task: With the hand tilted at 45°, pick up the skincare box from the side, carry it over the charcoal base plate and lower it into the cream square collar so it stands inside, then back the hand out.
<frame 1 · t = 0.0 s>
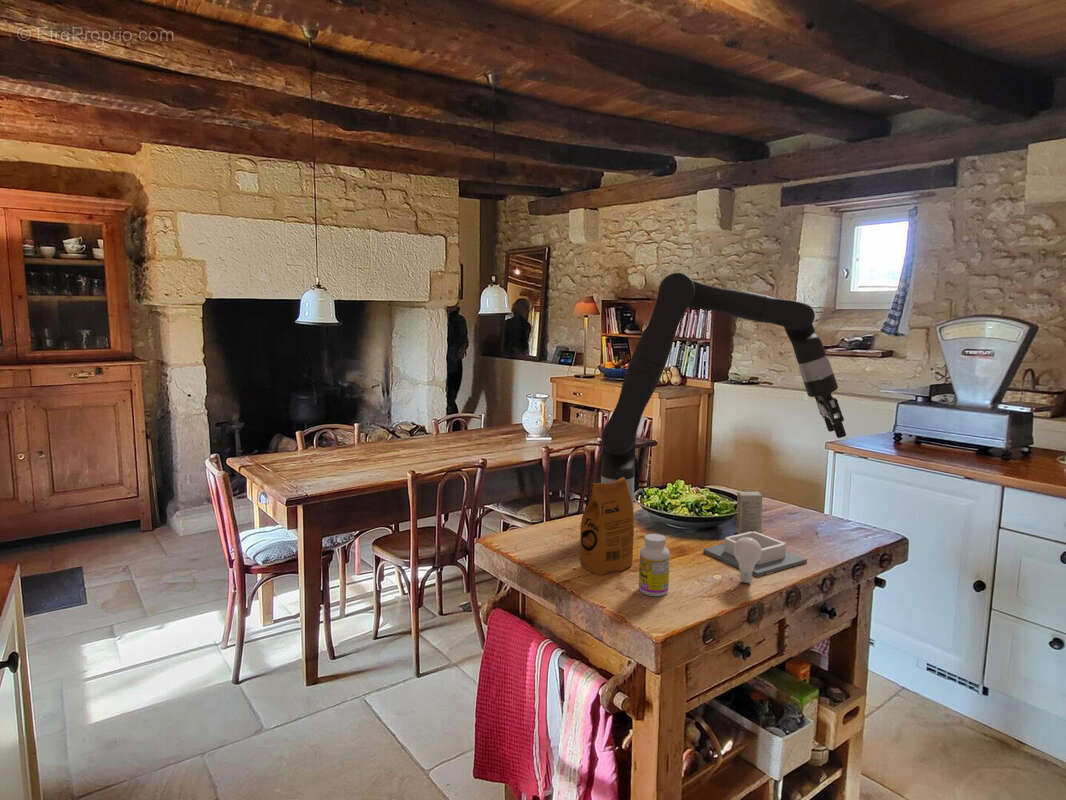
hand: (837, 433, 172), 31 cm above the worktop, tool tilted 20°, fingers open, 8 cm apart
lightbulb: (745, 583, 154), on the worktop
holder: (754, 557, 170), on the worktop
supplement bottle: (653, 592, 149), on the worktop
skincare box: (747, 535, 187), on the worktop
coffee package: (605, 567, 164), on the worktop
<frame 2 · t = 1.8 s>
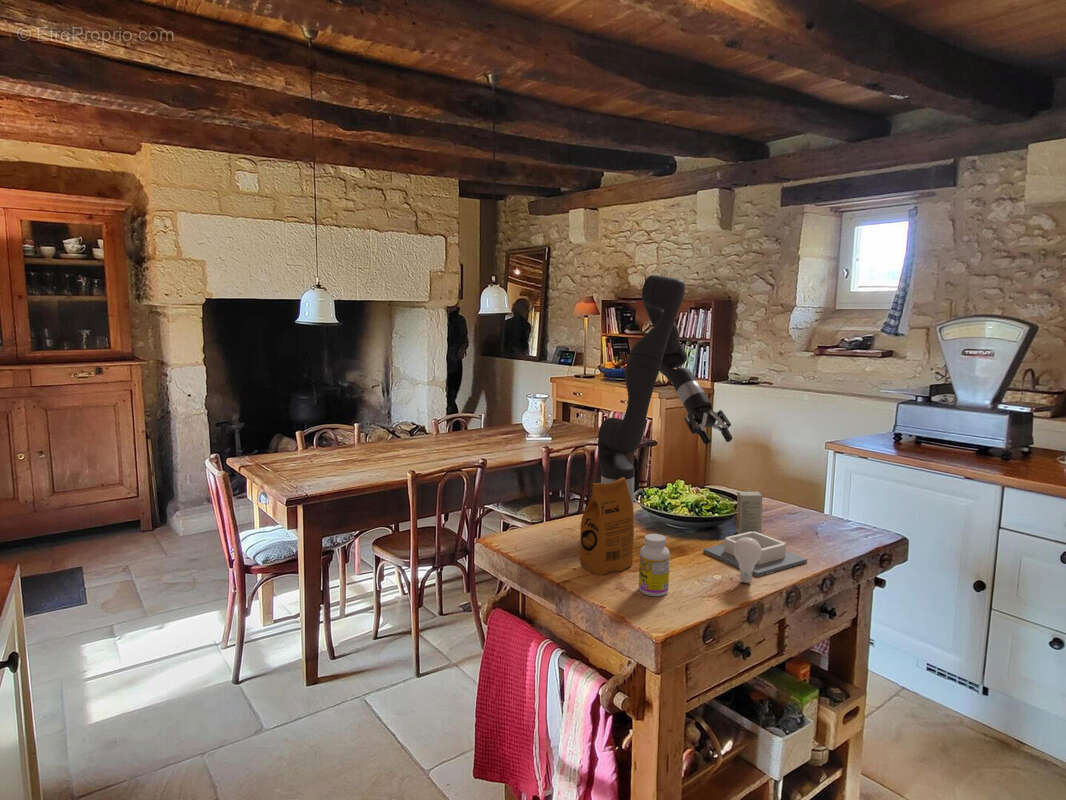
hand: (719, 442, 194), 25 cm above the worktop, tool tilted 45°, fingers open, 8 cm apart
nothing on the worktop moved.
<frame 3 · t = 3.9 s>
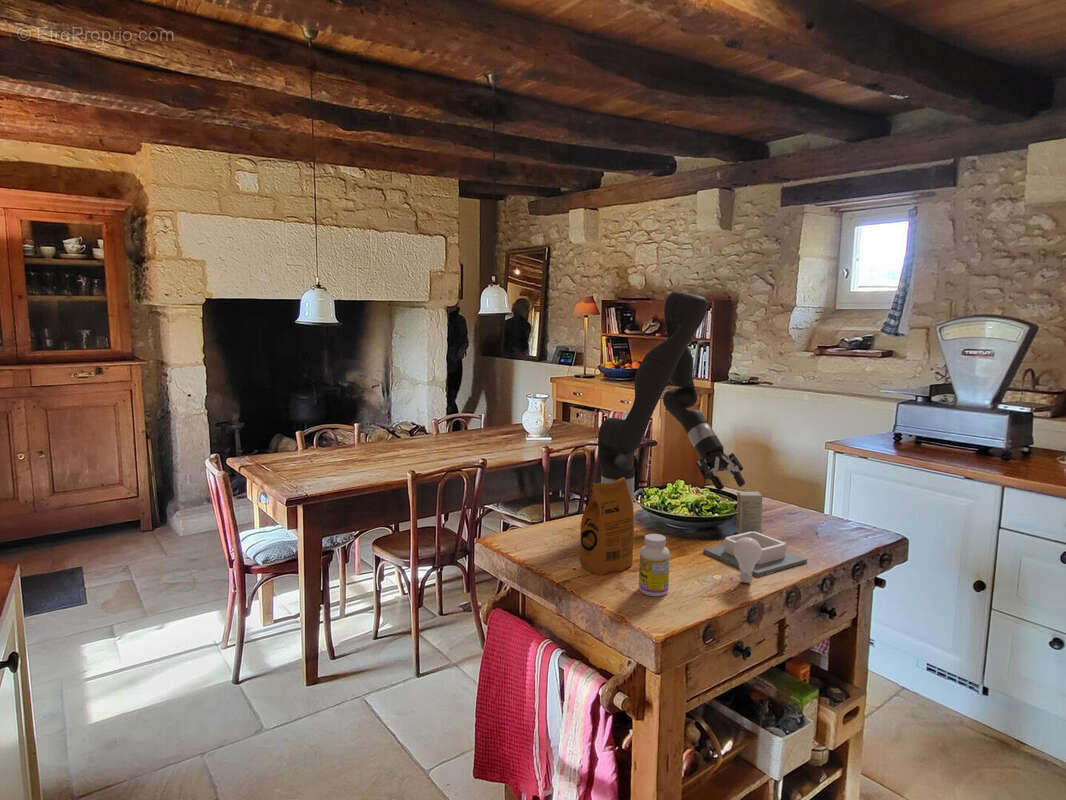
hand: (732, 487, 191), 12 cm above the worktop, tool tilted 45°, fingers open, 8 cm apart
nothing on the worktop moved.
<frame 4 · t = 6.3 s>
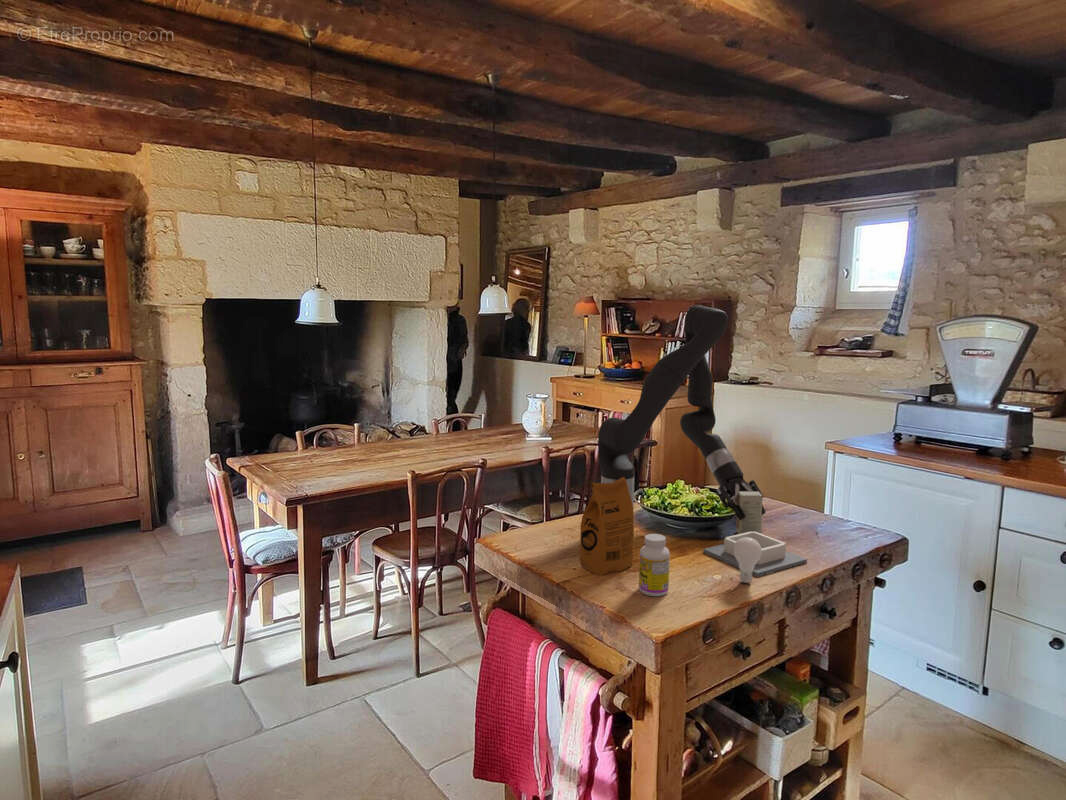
hand: (753, 516, 185), 6 cm above the worktop, tool tilted 45°, fingers closed on skincare box, 7 cm apart
skincare box: (747, 535, 187), on the worktop, touching gripper
everything else where it was.
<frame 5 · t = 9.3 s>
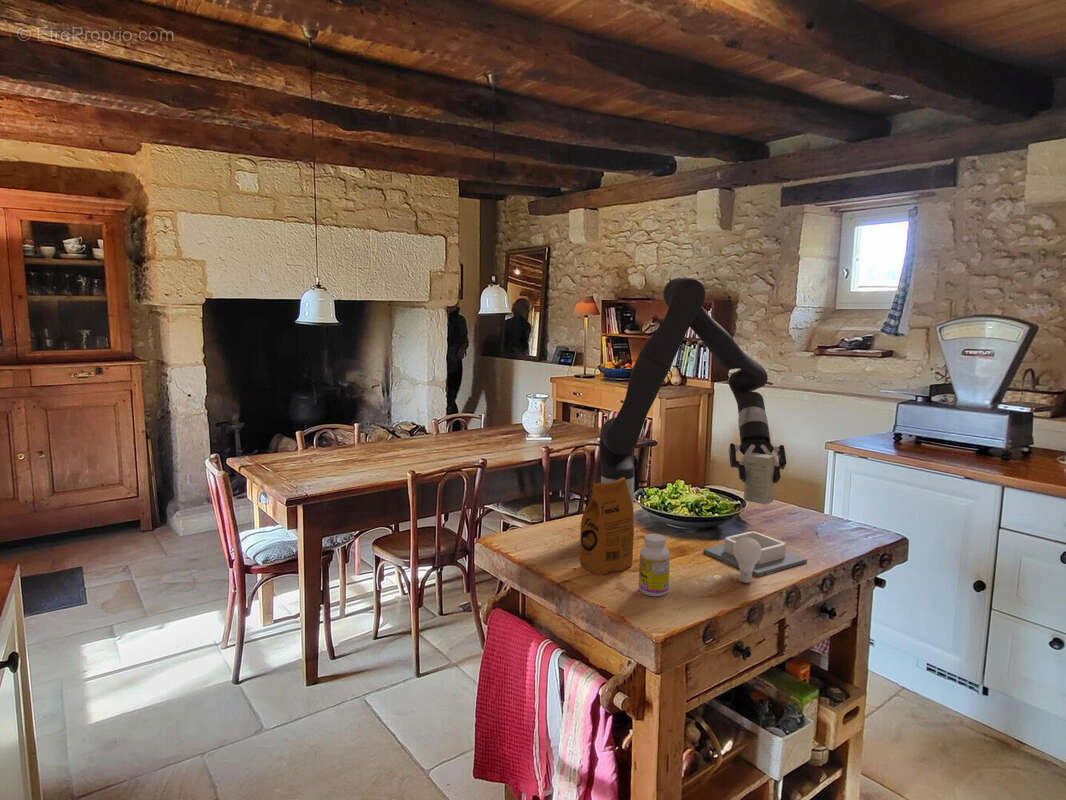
hand: (760, 481, 167), 20 cm above the worktop, tool tilted 45°, fingers closed on skincare box, 7 cm apart
skincare box: (757, 502, 169), point 14 cm above the worktop, touching gripper
everything else where it was.
when the fingers open (8 cm above the worktop, at t = 12.5 s): skincare box drops 1 cm, resting on holder.
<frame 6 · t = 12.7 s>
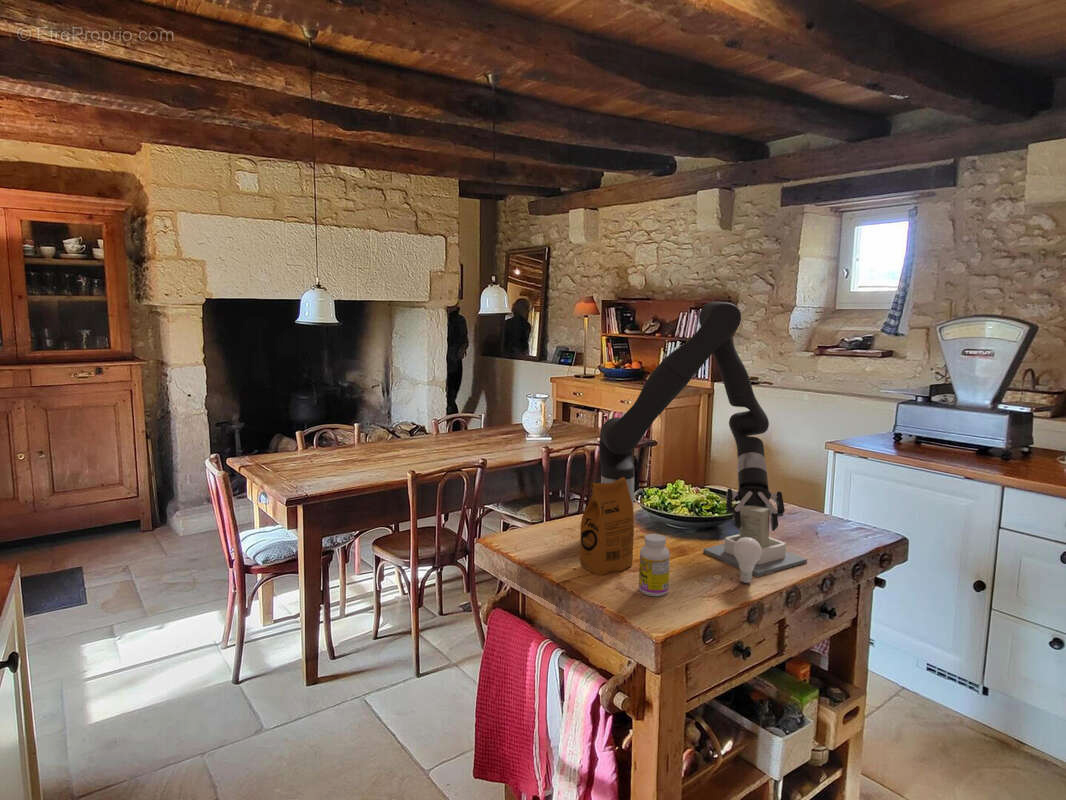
hand: (756, 528, 167), 8 cm above the worktop, tool tilted 45°, fingers open, 8 cm apart
skincare box: (753, 554, 170), point 1 cm above the worktop, touching gripper, holder
everything else where it was.
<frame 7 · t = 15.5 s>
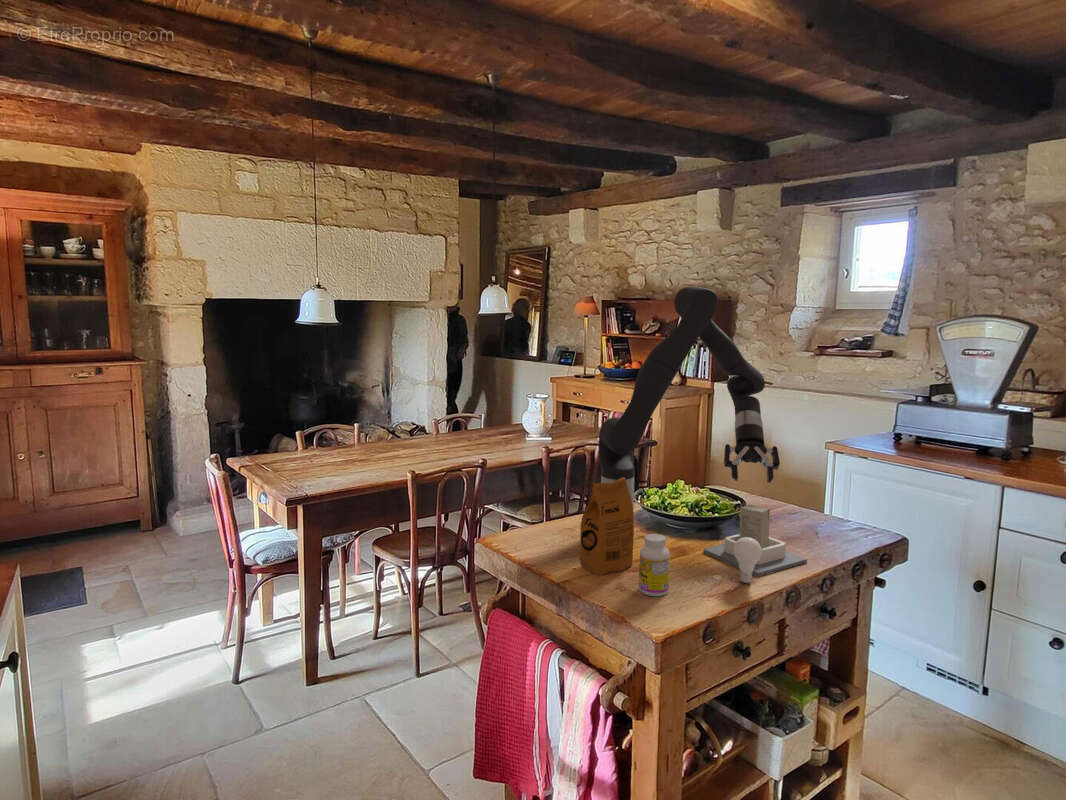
hand: (752, 480, 175), 18 cm above the worktop, tool tilted 45°, fingers open, 8 cm apart
skincare box: (753, 554, 170), point 1 cm above the worktop, touching holder
everything else where it was.
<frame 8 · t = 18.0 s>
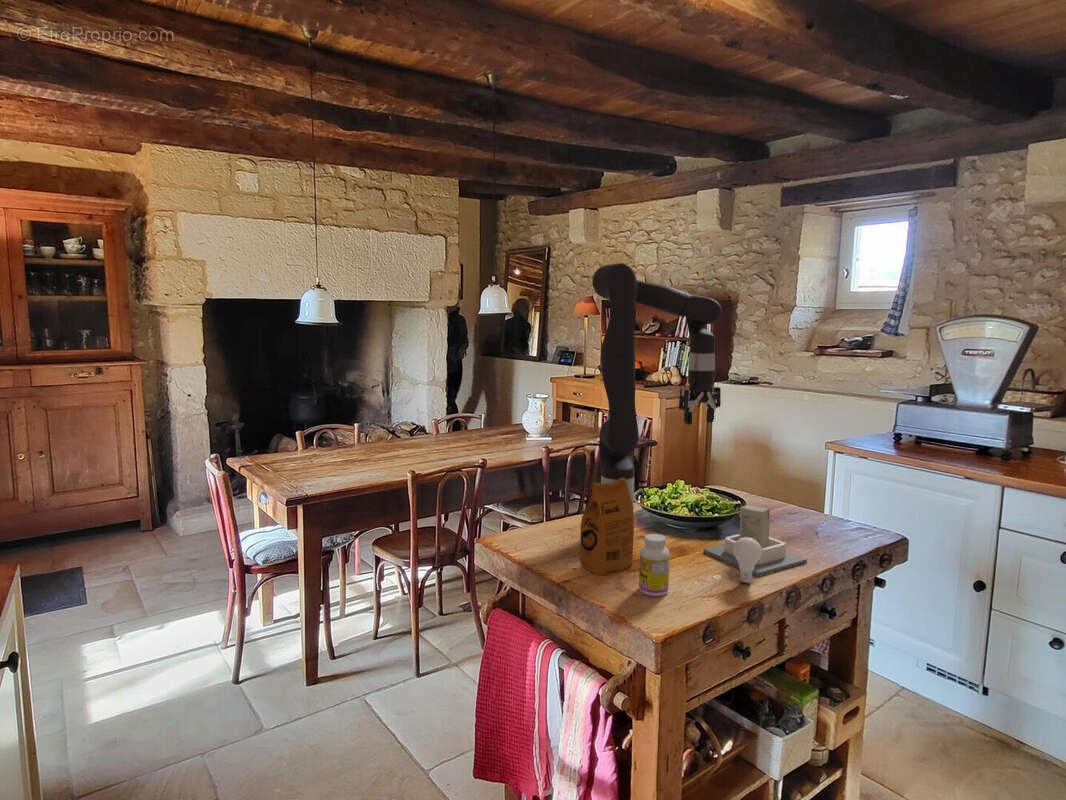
hand: (699, 423, 194), 30 cm above the worktop, tool pointing down, fingers open, 8 cm apart
nothing on the worktop moved.
at the end: skincare box 0.3 cm from the holder (horizontally); skincare box point 0.8 cm above the worktop; skincare box tilted 0° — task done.
